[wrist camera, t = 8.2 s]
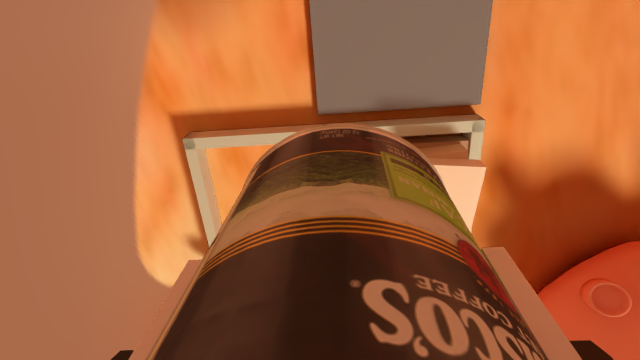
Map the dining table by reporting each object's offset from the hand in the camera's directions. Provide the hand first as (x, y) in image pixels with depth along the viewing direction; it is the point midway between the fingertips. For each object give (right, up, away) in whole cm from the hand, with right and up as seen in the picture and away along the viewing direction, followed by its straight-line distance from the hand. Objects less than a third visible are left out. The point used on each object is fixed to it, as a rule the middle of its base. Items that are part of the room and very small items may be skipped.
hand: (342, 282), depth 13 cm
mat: (+5, +17, +15) cm, 23 cm away
